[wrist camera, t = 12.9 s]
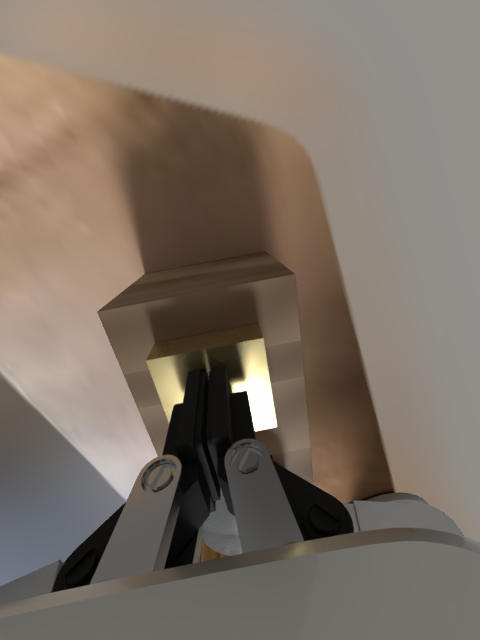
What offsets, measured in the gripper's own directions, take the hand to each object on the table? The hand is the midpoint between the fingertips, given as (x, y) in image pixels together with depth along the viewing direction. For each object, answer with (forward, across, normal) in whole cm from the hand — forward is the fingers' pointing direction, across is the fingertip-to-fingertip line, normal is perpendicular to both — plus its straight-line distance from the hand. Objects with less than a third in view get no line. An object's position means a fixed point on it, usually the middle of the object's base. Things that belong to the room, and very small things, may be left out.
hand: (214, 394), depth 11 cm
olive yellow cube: (+5, 0, 0) cm, 5 cm away
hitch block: (+10, 0, +5) cm, 11 cm away
